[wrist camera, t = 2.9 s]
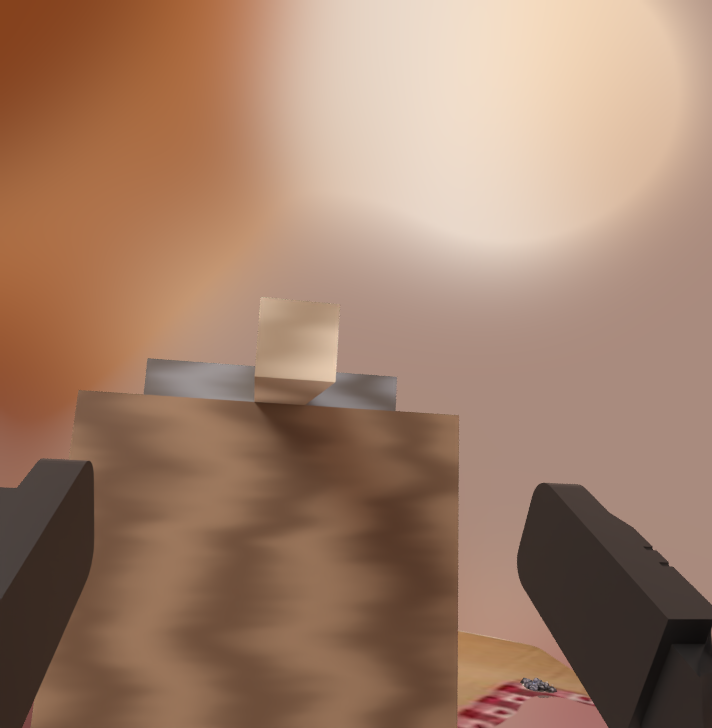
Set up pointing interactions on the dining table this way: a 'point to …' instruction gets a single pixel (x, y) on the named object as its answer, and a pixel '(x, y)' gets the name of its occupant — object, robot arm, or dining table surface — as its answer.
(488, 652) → the dining table surface
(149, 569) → the stand
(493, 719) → the dining table surface
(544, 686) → the blueberries
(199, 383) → the scraper
